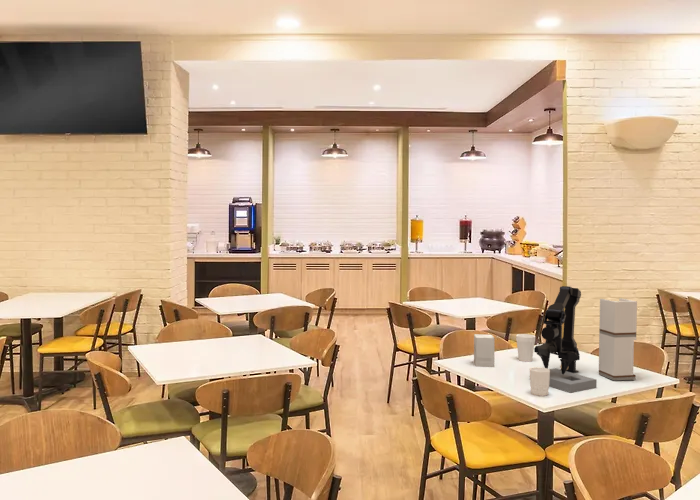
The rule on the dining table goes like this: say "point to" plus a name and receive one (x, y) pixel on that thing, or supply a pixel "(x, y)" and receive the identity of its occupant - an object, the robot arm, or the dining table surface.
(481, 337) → the supplement box
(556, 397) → the dining table surface
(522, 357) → the foam cup
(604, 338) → the grey striped pillar
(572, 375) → the grey flat block
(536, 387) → the white cup
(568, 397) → the dining table surface
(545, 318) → the robot arm
